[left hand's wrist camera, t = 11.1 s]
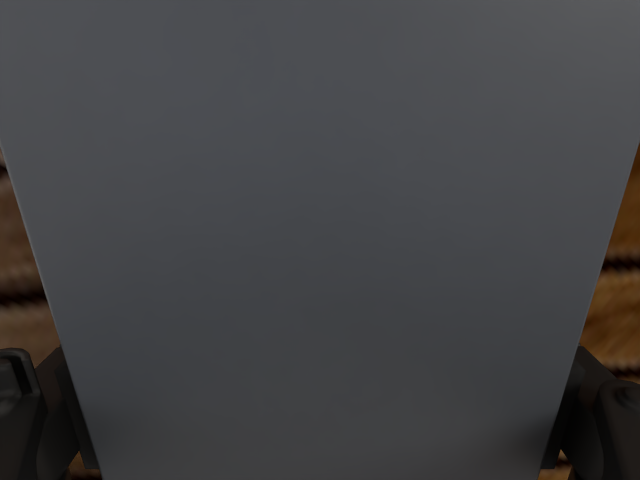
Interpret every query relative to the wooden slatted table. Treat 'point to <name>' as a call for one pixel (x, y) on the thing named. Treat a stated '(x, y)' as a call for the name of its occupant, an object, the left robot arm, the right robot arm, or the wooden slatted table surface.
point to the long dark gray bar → (319, 223)
